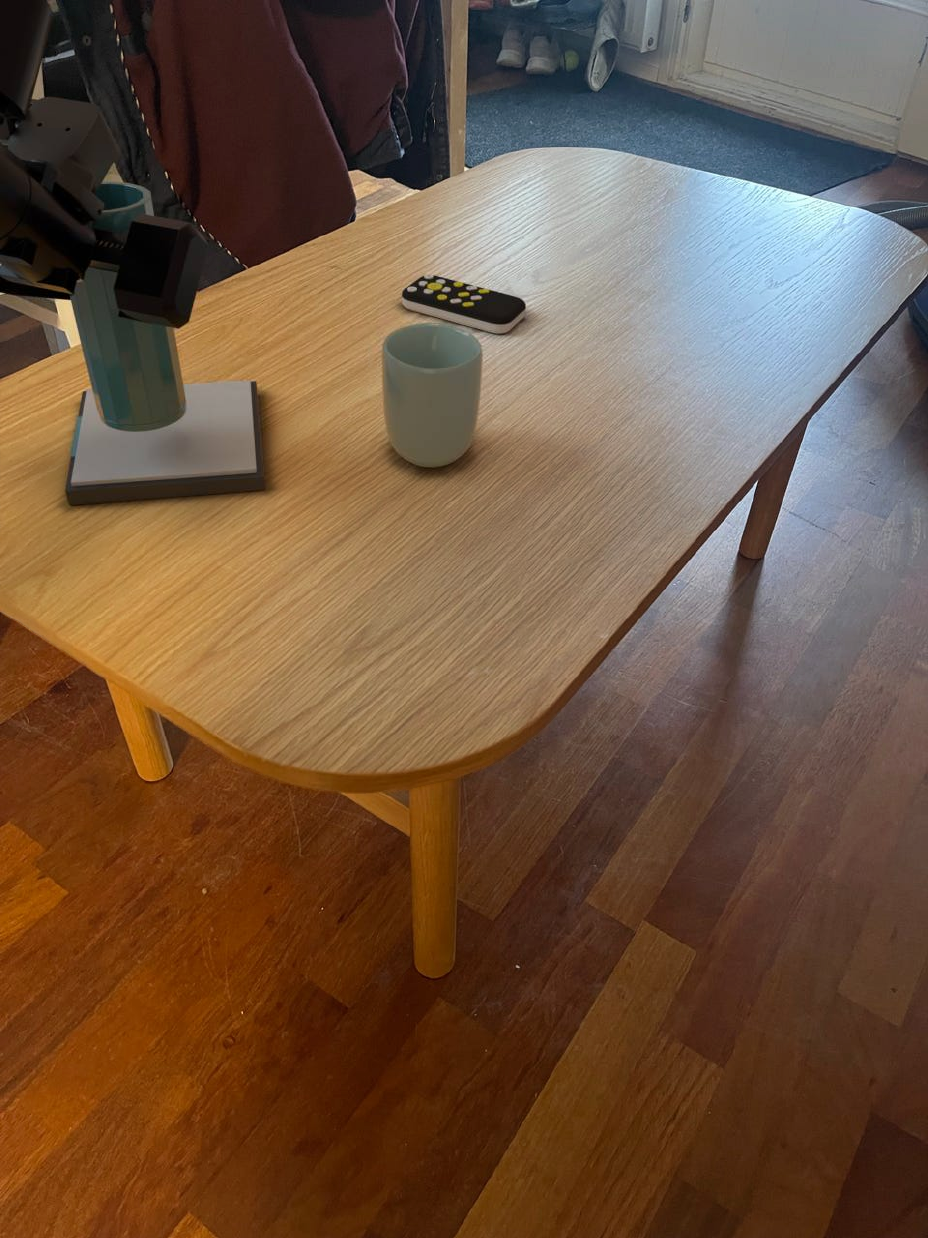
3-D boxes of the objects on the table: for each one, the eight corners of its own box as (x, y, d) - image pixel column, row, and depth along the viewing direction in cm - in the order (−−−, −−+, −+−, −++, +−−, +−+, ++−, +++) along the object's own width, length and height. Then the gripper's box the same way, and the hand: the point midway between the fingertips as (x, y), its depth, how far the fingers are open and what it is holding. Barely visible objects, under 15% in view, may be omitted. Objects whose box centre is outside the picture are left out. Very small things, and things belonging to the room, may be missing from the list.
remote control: (504, 338, 96) (506, 319, 95) (396, 308, 100) (396, 290, 99) (529, 314, 100) (531, 296, 99) (424, 286, 104) (424, 269, 103)
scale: (68, 505, 73) (63, 486, 72) (86, 404, 84) (81, 386, 82) (265, 490, 76) (263, 471, 74) (257, 394, 86) (255, 376, 85)
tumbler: (145, 440, 70) (100, 219, 60) (80, 416, 73) (25, 199, 62) (204, 404, 75) (171, 192, 64) (141, 383, 77) (99, 175, 67)
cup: (366, 448, 81) (362, 339, 74) (436, 419, 85) (439, 313, 78) (423, 491, 77) (425, 380, 70) (494, 458, 80) (502, 350, 74)
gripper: (167, 82, 52) (275, 218, 68) (-112, 40, 56) (50, 178, 71) (115, 275, 52) (235, 367, 67) (-161, 221, 56) (12, 320, 71)
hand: (131, 302), depth 69 cm, fingers closed on tumbler, 7 cm apart
